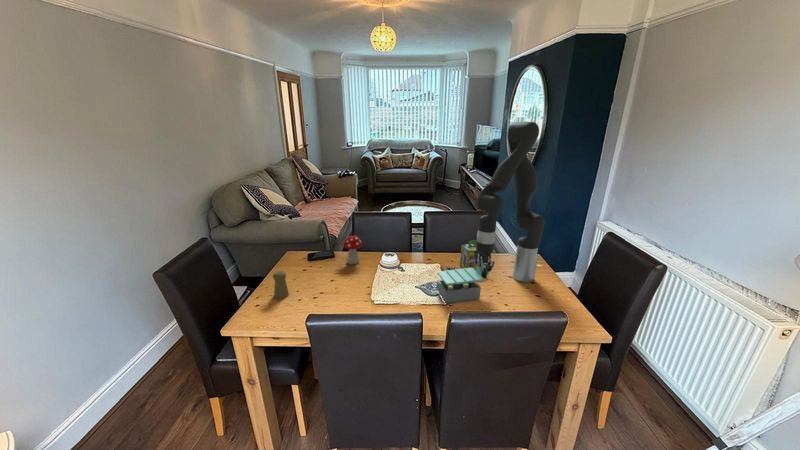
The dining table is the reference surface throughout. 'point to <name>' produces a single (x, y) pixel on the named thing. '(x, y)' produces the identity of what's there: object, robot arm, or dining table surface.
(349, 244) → the decorative mushroom
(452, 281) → the lid
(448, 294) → the tub
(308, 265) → the dining table surface
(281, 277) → the olive pawn figure
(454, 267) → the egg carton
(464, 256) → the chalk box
